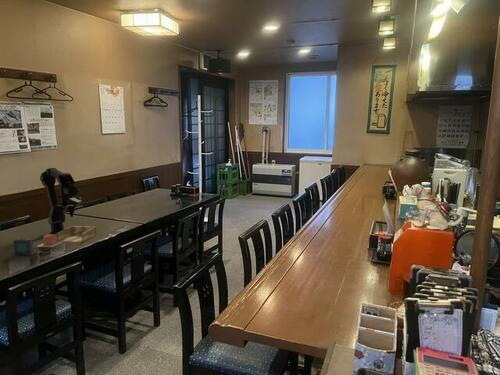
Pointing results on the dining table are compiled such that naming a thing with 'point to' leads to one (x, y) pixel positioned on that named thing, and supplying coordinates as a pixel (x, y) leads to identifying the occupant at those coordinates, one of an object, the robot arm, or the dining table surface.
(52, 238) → the block
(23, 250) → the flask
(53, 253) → the dining table surface
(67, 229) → the hinoki box
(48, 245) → the plate
